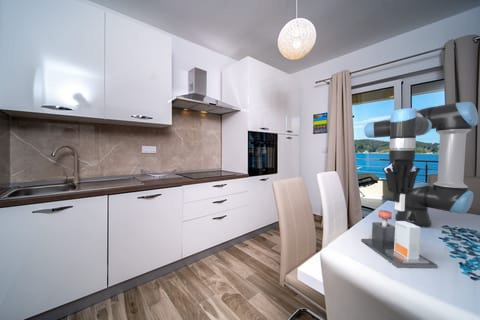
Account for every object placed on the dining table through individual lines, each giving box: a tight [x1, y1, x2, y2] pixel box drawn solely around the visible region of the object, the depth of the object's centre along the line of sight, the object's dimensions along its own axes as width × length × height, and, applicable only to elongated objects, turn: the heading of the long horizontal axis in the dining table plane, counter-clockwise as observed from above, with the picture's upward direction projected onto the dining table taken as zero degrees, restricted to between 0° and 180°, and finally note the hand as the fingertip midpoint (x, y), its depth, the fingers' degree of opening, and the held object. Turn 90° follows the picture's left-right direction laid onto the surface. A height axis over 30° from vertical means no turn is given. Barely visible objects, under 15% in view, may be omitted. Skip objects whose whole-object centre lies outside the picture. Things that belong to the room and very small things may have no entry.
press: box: [360, 221, 438, 269], centre depth 73 cm, size 14×19×9 cm
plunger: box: [378, 209, 393, 226], centre depth 79 cm, size 4×4×10 cm
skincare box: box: [394, 220, 422, 260], centre depth 68 cm, size 6×4×12 cm
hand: (399, 209), depth 72 cm, fingers closed
